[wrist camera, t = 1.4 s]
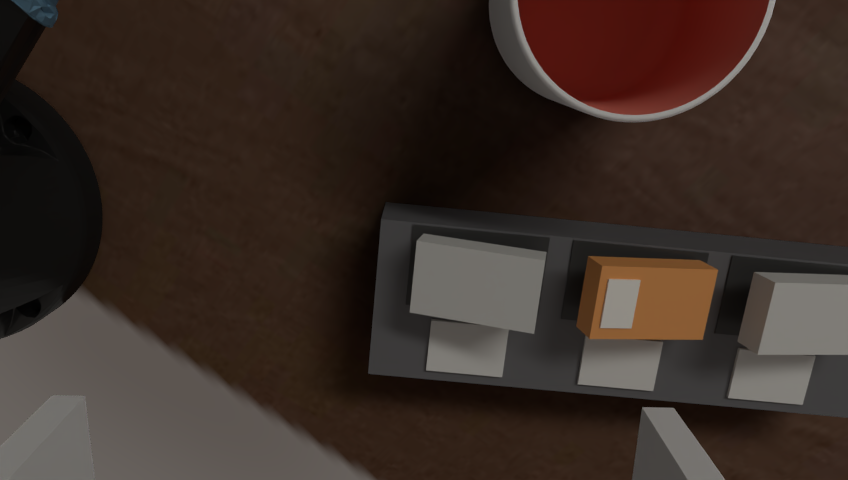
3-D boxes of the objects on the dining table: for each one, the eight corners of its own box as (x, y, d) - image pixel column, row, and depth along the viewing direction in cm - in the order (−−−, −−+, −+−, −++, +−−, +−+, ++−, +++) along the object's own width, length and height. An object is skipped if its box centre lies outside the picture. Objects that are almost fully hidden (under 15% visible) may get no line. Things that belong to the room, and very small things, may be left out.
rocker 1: (416, 302, 34) (409, 312, 33) (423, 233, 33) (416, 240, 32) (535, 322, 33) (534, 334, 32) (546, 252, 32) (545, 260, 31)
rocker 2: (576, 326, 33) (590, 340, 32) (588, 256, 32) (603, 266, 31) (685, 327, 35) (703, 340, 33) (699, 260, 34) (719, 270, 32)
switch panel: (373, 342, 40) (367, 375, 36) (385, 202, 38) (380, 220, 34) (812, 383, 40) (855, 419, 36) (849, 247, 38) (899, 270, 34)
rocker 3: (737, 341, 34) (757, 354, 32) (753, 272, 33) (775, 282, 31) (839, 341, 35) (863, 354, 34) (858, 275, 34) (883, 285, 33)
